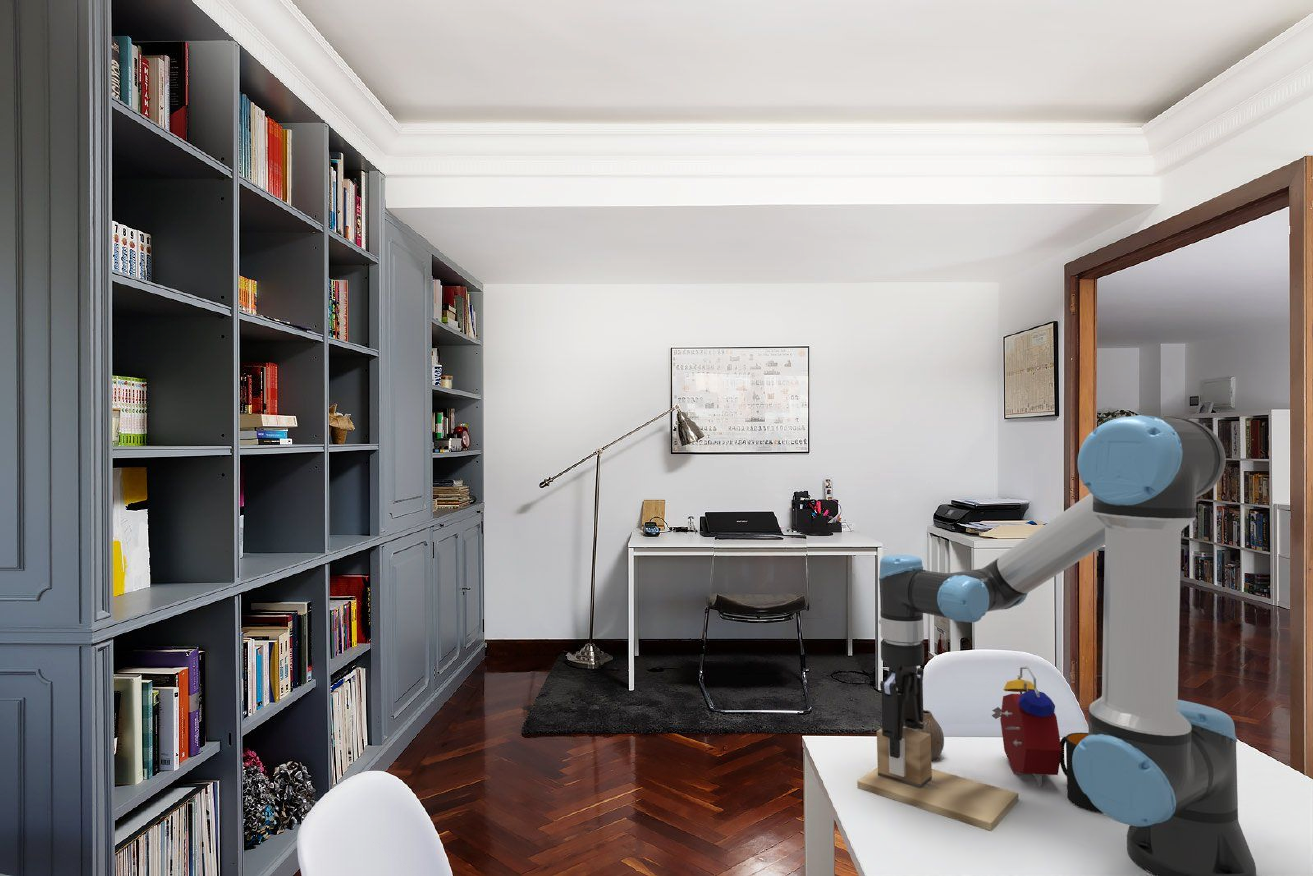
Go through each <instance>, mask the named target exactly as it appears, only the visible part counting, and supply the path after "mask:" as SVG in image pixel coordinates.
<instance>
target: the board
mask: <svg viewBox="0 0 1313 876" xmlns="http://www.w3.org/2000/svg"><path fill="white" fill-rule="evenodd" d="M856 783H857V785H856V786H857V789H861V790H863V791H866V792H870V793H872V794H876V795H879V796H882V797H884V798H885V797H886V798H888V799H891V800H894V801H897V802H900V803H903V804H906V805H910V806H913V807H916V808H918V809H922V810H925V811H928V812H931V813H935V814H938V815H941V816H944V817H947V818H950V819H953V820H956V821H959V822H962V823H965V824H969V825H971V826H975V827H977V828H980V829H983V830H984V829H985V830H987V831H990V832H992V831H993V830H994V829H995V828H996V827H997V825H998V824H999V823H1000V822H1001V821H1002V819H1003V818H1004V817H1005V816H1006V815H1007V814H1008V813H1009V811H1011V809H1012V808H1013V807H1014V806H1015V805H1016V803H1018V801H1019V792H1015V791H1013V790H1009V789H1005V788H1001V787H998V786H994V785H991V784H987V783H984V782H981V781H976V780H973V779H969V778H966V777H964V776H963V777H962V776H960V775H959V776H958V775H955V774H952V773H949V772H946V771H941V770H937V769H934V768H932V779H931V780H930V781H929V782H928V783H926V784H925V785H924V786H923V787H922V788H918V787H915V786H911V785H908V784H905V783H901V782H898V781H895V780H891V779H888V778H884V777H881V776H878V766H877V767H875V768H874V769H873V770H871V771H870V772H868V773H867V774H866V775H863V776H862V777H861V778H860V779H858V780H857V782H856Z"/></svg>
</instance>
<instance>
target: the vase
mask: <svg viewBox="0 0 1313 876" xmlns="http://www.w3.org/2000/svg"><path fill="white" fill-rule="evenodd" d="M923 717H924V719H923V722H920V724H924V727H923V729H918V728H917V730H918V731H920V732H924V733H928V734H931V761H934V760H936V759H937V758H938V757H940V755H941V754H942V752H943V750H944V746H945V736H944V732H943V729H942V727H941V725H940V723H939V722H938V721H937V720H936V719H935V716H934V715H933V713H932V711H931V710H928V709H923Z"/></svg>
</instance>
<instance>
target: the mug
mask: <svg viewBox="0 0 1313 876" xmlns="http://www.w3.org/2000/svg"><path fill="white" fill-rule="evenodd" d="M1088 735H1089V732H1073V733H1072V732H1071V733H1069V734H1066V735H1065V736H1063V737H1062V738H1060V742H1061V748H1062V753H1061V759H1060V765H1059V766H1060V768H1061V770H1062V772H1063V774H1064V776H1066V790H1067V791H1066V792H1067V793H1066V795H1067V799H1068V801H1070V803H1072V804H1073V805H1074V806H1076V807H1077V808H1080V809H1082V810H1085V811H1088V812H1093V813H1097V814H1104V813H1103V812H1101V811H1100V810H1099V809H1098V808H1097V807H1096V806H1094V804H1093V803H1092V802H1091V800H1090V799H1089V798H1088V796H1087V795H1086V794H1085V793H1083V791H1082V790H1081V788H1080V786H1079V784H1078V782H1077V780H1076V778H1075V775H1074V771H1073V766H1072V757H1073V753H1074V750H1075V748H1076V746H1077V745H1078V744H1079V742H1080V741H1081V740H1082V739H1084V738H1085V737H1086V736H1088ZM1065 751H1066V752H1065ZM1065 758H1066V761H1065ZM1104 815H1105V814H1104Z"/></svg>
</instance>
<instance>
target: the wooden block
mask: <svg viewBox="0 0 1313 876" xmlns="http://www.w3.org/2000/svg"><path fill="white" fill-rule="evenodd" d="M902 738H904V739H905V776H904V777H902V776H899V775H896V774H892V773H889V738H888V737H884V736H883V735H882V727H881V728H880V729H878V730H876V752H877V753H876V756H877V757H876V758H877V759H876V760H877V767H878V776H881V777H884V778H888V779H891V780H895V781H898V782H901V783H905V784H908V785H911V786H915V787H918V788H922V787H923V786H924V785H925V784H926V783H928V782H929V781H930V780H931V779H932V769H933V767H932V760H931V734H928V733H924V732H920V731H916V730H912V729H907V728H903V735H902Z"/></svg>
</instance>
